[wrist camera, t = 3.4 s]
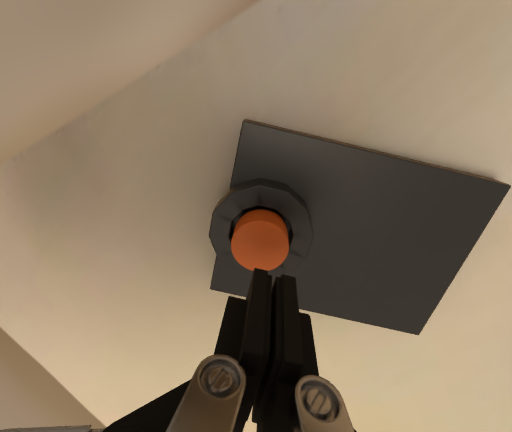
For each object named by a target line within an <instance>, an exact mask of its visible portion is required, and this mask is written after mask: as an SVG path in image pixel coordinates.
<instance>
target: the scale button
mask: <svg viewBox="0 0 512 432" xmlns="http://www.w3.org/2000/svg"><path fill="white" fill-rule="evenodd" d="M231 250H232V254H233V256H234V258H235V259H236V260H237V262H238V263H239V264H240V265H242V266H243V267H245V268H247V269H249V270H252V271H254V268H258V269H263V270H267V271H269V270H272V269H275V268H276V267H278V266H279V265H281V264H282V263H283V261H284V260H285V259H286V257H287V255H288V251H289V240H288V231H287V227H286V224H285V222H284V221H283V219H282V218H281V217H280V216H279V215H277V214H276V213H274V212H272V211H269V210H265V209H256V210H252V211H249V212H247V213H245V214H244V215H243V216H242V217H241V218H240V219H239V220H238V222H237V224H236V227H235V230H234V233H233V237H232V240H231Z"/></svg>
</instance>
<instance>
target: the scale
mask: <svg viewBox="0 0 512 432" xmlns="http://www.w3.org/2000/svg"><path fill="white" fill-rule="evenodd" d="M510 187H511V186H510V185H509V184H506V183H503V182H500V181H497V180H495V179H491V178H487V177H483V176H478V175H474V174H470V173H466V172H462V171H458V170H454V169H450V168H445V167H441V166H437V165H433V164H429V163H425V162H421V161H417V160H413V159H408V158H404V157H400V156H396V155H392V154H388V153H384V152H380V151H375V150H371V149H367V148H363V147H359V146H355V145H351V144H347V143H343V142H338V141H334V140H330V139H326V138H322V137H318V136H314V135H310V134H305V133H301V132H297V131H293V130H289V129H285V128H281V127H277V126H273V125H268V124H264V123H260V122H256V121H252V120H248V119H245V120H244V121H243V123H242V128H241V133H240V138H239V143H238V148H237V154H236V159H235V164H234V169H233V174H232V179H231V184H230V189H229V191H228V192H227V194H226V195H225V196H224V197H223V198H222V199H221V200H220V201H219V202H218V204H217V206H216V208H215V209H214V211H213V214H212V220H211V226H210V231H209V238H210V240H211V243H212V245H213V247H214V250H215V252H216V255H217V256H216V261H215V266H214V271H213V276H212V281H211V286H210V289H212V290H216V291H221V292H225V293H230V294H234V295H239V296H243V297H247V294H248V290H249V286H250V282H251V279H252V275H253V271H252V270H249V269H247V268H245V267H243V266H242V265H240V264H239V263H238V262H237V260H236V259H235V258H234V256H233V254H232V250H231V240H232V237H233V233H234V230H235V227H236V224H237V222H238V220H239V219H240V218H241V217H242V216H243V215H244V214H245V213H247V212H249V211H252V210H256V209H265V210H269V211H272V212H274V213H276V214H277V215H279V216H280V217H281V218H282V219H283V221H284V222H285V224H286V227H287V231H288V240H289V251H288V255H287V257H286V259H285V260H284V261H283V263H282V264H281V265H279V266H278V267H276V268H275V269H272V270H269V271H268V275H272V287H273V284H274V280H275V278H276V276H277V277H281V275H282V274H284V275H288V276H293V277H295V278H296V286H297V296H298V306H299V309H302V310H307V311H311V312H316V313H320V314H325V315H329V316H334V317H338V318H343V319H347V320H352V321H356V322H361V323H365V324H370V325H375V326H379V327H384V328H388V329H393V330H397V331H402V332H406V333H411V334H415V335H419V334H420V332H421V331H422V329H423V327H424V326H425V324H426V323H427V321H428V319H429V318H430V316H431V315H432V313H433V311H434V310H435V308H436V306H437V305H438V303H439V302H440V300H441V298H442V297H443V295H444V294H445V292H446V290H447V289H448V287H449V286H450V284H451V282H452V281H453V279H454V277H455V276H456V274H457V273H458V271H459V269H460V268H461V266H462V265H463V263H464V261H465V260H466V258H467V257H468V255H469V253H470V252H471V250H472V248H473V247H474V245H475V244H476V242H477V240H478V239H479V237H480V236H481V234H482V232H483V231H484V229H485V227H486V226H487V224H488V223H489V221H490V219H491V218H492V216H493V215H494V213H495V211H496V210H497V208H498V207H499V205H500V203H501V202H502V200H503V198H504V197H505V195H506V194H507V192H508V190H509V189H510Z"/></svg>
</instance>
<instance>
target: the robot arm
mask: <svg viewBox="0 0 512 432" xmlns="http://www.w3.org/2000/svg"><path fill="white" fill-rule="evenodd" d="M252 406H253V410H252V422H254V423H257V432H356V431H355V429H354V428H353V426H352V423H351V420H350V418H349V415H348V412H347V409H346V406H345V403H344V401H343V398H342V396H341V394H340V393H339V391H338V390H337V389H336V387H335V386H334V385H333V384H331V383H330V382H329V381H328V380H326V379H324V378H322V377H320V376H319V373H318V366H317V359H316V352H315V345H314V339H313V332H312V325H311V319H310V316H309V315H308V314H304V313H300V312H299V306H298V296H297V286H296V278H295V277H293V276H288V275H284V274H282V275H281V277H277V276H276V278H275V280H274V284H273V287H272V275H268V271H267V270H263V269H258V268H254V271H253V275H252V279H251V282H250V286H249V290H248V294H247V298H246V300H244V299H240V298H235V297H231V296H229V297H228V301H227V305H226V308H225V312H224V316H223V320H222V324H221V328H220V332H219V336H218V340H217V344H216V348H215V352H214V355H211V356H209V357H207V358H205V359H204V360H203V361H201V363H200V364H199V366H198V367H197V369H196V371H195V373H194V375H193V377H192V379H191V380H189V381H187V382H185V383H183V384H182V385H180V386H178V387H176V388H175V389H173V390H171V391H169V392H167V393H166V394H164V395H162V396H160V397H158V398H157V399H155V400H153V401H151V402H149V403H148V404H146V405H144V406H142V407H141V408H139V409H137V410H135V411H133V412H132V413H130V414H128V415H126V416H124V417H123V418H121V419H119V420H117V421H115V422H114V423H112V424H111V425H110V426H108V427H107V428H103V429H91V425H84V426H83V425H82V426H58V427H36V428H13V429H5V430H0V432H242V431H243V428H244V425H245V422H246V421H247V420H248V417H249V415H250V412H251V409H252Z"/></svg>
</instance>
